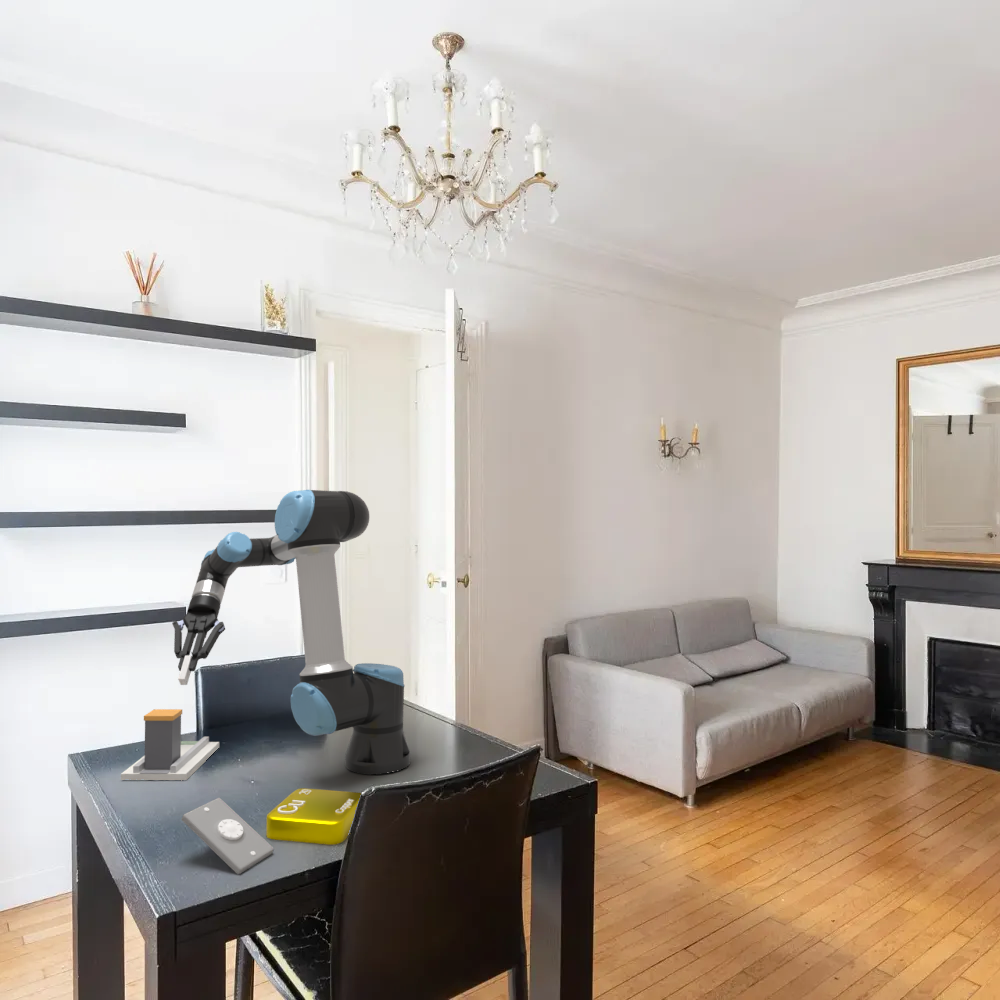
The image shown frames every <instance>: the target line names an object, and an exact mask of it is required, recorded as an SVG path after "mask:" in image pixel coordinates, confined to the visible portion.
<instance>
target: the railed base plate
mask: <svg viewBox="0 0 1000 1000" xmlns="http://www.w3.org/2000/svg"><path fill="white" fill-rule="evenodd" d="M218 748H219V749H220V741H210V736H203V737H202V738H200V739H199V740H181V757H180V758H179V759H178V760H177V761H176V762H174V763H173V764H172V765H171V766H170V769H144V763H145V755H143V756H141V758H140V759H138V760H137V761H136V762H134V763H133V764H132V765H130V766H129V767H128V768H126V769H125V770H124V771H123V772H121V773H120V781H121V780H125V779H129V780H130V779H131V780H136V779H137V780H141V779H144V780H181V781H180V782H183V781H182V780H186V781H187V780H189V778H190V777H191V776H193V774H194V773H196V772H197V770H199V768H200V767H201V766H202V765H203V764H204V763H205V762H207V761H208V760H207V759H208V758H209V757H210V756H211V755H212V754H213V753H214V752H215V751H216V750H217V749H218ZM219 749H218V750H219ZM218 750H217V751H218ZM217 751H216V752H217ZM216 752H215V753H216ZM215 753H214V754H215ZM212 756H213V755H212ZM212 756H211V757H212ZM209 759H210V758H209ZM206 760H207V761H206Z"/></svg>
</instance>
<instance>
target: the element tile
mask: <svg viewBox="0 0 1000 1000" xmlns="http://www.w3.org/2000/svg"><path fill="white" fill-rule="evenodd" d="M361 793H362V792H356V791H354V792H353V791H344V790H330V789H329V790H328V789H319V788H305V787H304V788H302V787H301V788H297V789H295V790H294V791H293V792H291V793H290V794H288V796H286V797H285V798H284V799H283V800H282V801H281V802H280V803H279V804H277V805H276V806H275V807H274V808H273V809H272V810H270V811H269V812H268V813H267V815H266V826H265V827H266V834H265V835H266V838H267V839H269V840H276V841H288V842H296V843H306V844H319V845H327V846H329V845H330V846H331V845H334V846H335V845H339V844H341V843H343V842H344V841H345V840H347V838H348V837H349V836H348V833H349V830H350V827H351V824H352V821H353V818H354V814H355V810H356V807H357V804H358V801H359V798H360V795H361ZM347 836H348V837H347Z"/></svg>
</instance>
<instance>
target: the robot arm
mask: <svg viewBox="0 0 1000 1000" xmlns="http://www.w3.org/2000/svg"><path fill="white" fill-rule="evenodd" d="M369 523H370V510H369V507H368V506H367V504H366V502H365V501H364V500H363V499H362V498H361V497H360V496H359V495H357V494H355V493H353V492H350V491H344V490H319V489H318V490H317V489H316V490H315V489H314V490H313V489H302V490H293V491H290V492H289V491H288V493H286V494H285V495H284V496H283V497H282V499H280V501H279V504H278V505H277V508H276V512H275V515H274V530H275V534H276V535H274V536H272V537H263V538H262V537H260V538H254V537H253V538H250V537H249V536H248V535H246V534H245V533H242V532H239V531H231V532H230V533H228V534H226V535H225V536H224V538H223V539H221V540H220V541H219V542H218V544H217V546H216V547H215V548H213V549H212V550H208V551H207V552H206V553H205V555H204V557H203V559H202V560H201V564H200V568H199V572H198V576H197V579H196V582H195V586H194V589H193V591H192V595H191V598H190V600H189V601H190V602H189V604H188V607H187V610H186V614H185V616H183V618H182V619H181V620H180V621H177V620H173V621H172V627H173V629H174V638H173V639H174V645H173V646H174V647H173V649H174V650H173V653H174V654H175V656H176V659H179V663H178V666H177V667H178V671H180V672H179V675H178V677H177V678H178V679H177V680H178V682H179V684H180V685H181V686H187V685H188V682H189V680H190V677H191V676H190V675H191V673H192V672H195V671H196V669H197V665H198V661H199V660H200V659H203V660H206V659H207V658H208V657H209V655H210V653H211V651H212V649H213V647H214V645H215V644H216V642H217V640H218V639H219V637H220V635H221V634H222V633H223V632H224V631H225V630H226V627H225V624H224V622H223V621H219V619H218V617H219V613H220V609H221V604H222V602H223V597H224V596H225V595H224V594H225V590H226V587H227V584H228V580H229V578H230V577H231V576H232V575H233V574H234V573H235V571H236V570H237V569H238V568H247V567H261V566H263V567H265V566H285V565H290V564H292V563H294V562H295V565H296V575H297V576H296V577H297V584H298V585H297V587H298V595H299V597H298V598H299V606H300V607H299V608H300V616H301V617H300V618H301V626H302V627H301V630H302V638H303V639H302V640H303V641H302V642H303V651H304V652H303V653H304V661H305V665H304V668H303V669H302V670H301V672H299V683H297V684H296V685H295V686H294V687H293V688H292V691H291V695H290V708H291V712H292V716H293V718H294V720H295V722H296V724H297V725H298V726H299V727H300V729H301V730H302V731H303V732H304V733H306V734H307V735H309V736H315V737H317V736H322V735H330V734H333V733H335V732H338V731H342V730H346V729H350V728H352V735H351V737H350V741H349V743H348V745H347V748H346V753H345V757H344V766H345V769H347V770H349V771H350V772H352V773H356V772H358V773H357V774H360V773H365V774H364V775H371V774H376V775H381V774H380V773H387V772H392V771H397V770H400V771H402V770H401V769H403V768H405V767H406V766H408V765H409V766H410V764H411V751H410V747H409V745H408V740H407V738H406V735H405V731H404V705H405V704H404V703H405V702H404V700H405V699H404V698H405V695H404V694H405V684H404V682H405V680H404V672H403V670H402V669H401V668H400V667H397V666H395V665H389V664H384V663H372V662H370V663H368V662H367V663H366V662H365V663H357V664H355V665H354V668H353V666H352V664H350V663H349V662H348V661H347V660H346V658H345V657H346V656H345V650H344V648H345V647H344V637H343V630H342V629H343V628H342V617H341V608H340V596H339V587H338V578H337V568H336V558H335V555H336V553H337V551H339V549H340V548H341V543H345V542H348V541H350V540H355V539H356V538H359V537H360V536H361V535H363V534H364V532H365V531H366V530H367V528H368V526H369ZM184 626H185V627H186V629H187V633H186V636H185V639H184V642H183V632H182V631H184ZM209 631H211V632H210V633H209ZM208 633H209V635H208ZM207 635H208V636H207ZM206 638H207V639H206ZM205 639H206V641H205ZM194 641H195V643H194ZM182 645H183V646H182ZM193 645H194V646H193ZM190 654H191V655H190ZM409 763H410V764H409ZM409 766H408V767H409ZM406 768H407V767H406ZM406 768H405V769H406ZM403 770H404V769H403ZM397 772H398V771H397Z"/></svg>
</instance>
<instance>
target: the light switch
mask: <svg viewBox="0 0 1000 1000" xmlns="http://www.w3.org/2000/svg"><path fill="white" fill-rule="evenodd" d="M181 821H182V822H183V823H184V824H185V825H186V826H187V827H188V828H189V829H190V830H191V831H192V832H193V833H194V834H195V835H197V836H198V838H200V839H201V841H203V843H205V844H206V845H207V846H208V847H209V848H210V849H211V850H212V851H213V852H214V853H215V854H216V855H217V856H218V857H219V858H220V859H221V860H222V861H223V862H224V863H225V864H226V865H228V867H229V868H230V869H231V870H233V871H234V873H235V874H237V875H241V874H242V873H243V872H245V871H247V870H248V869H250V868H251V867H253V866H254V865H255V866H256V864H257V863H259V862H261V861H263V860H265V859H266V858H267V857H269V856H271V855H273V852H274V850H275V849H274V847H273V846H272V844H270V843H269V842H268V841H267V840H266V839H265V838H264V837H263V836H262V835H261V834H259V833H258V832H257V831H256V830H255V829H254V828H253V827H252V826H250V824H248V822H246V821H245V820H244V819H243V818H242V817H241V816H240V815H239V814H238V813H237V812H235V811H234V809H232V808H231V807H230V806H229V805H228V804H227V803H226V802H225V801H224V800H223V799H221V797H217V798H215V799H213V800H210V801H208V802H207V803H205V804H203V805H200V806H199V807H196V808H194V809H192V810H191V811H188V812H186V813H184V814H182V817H181Z"/></svg>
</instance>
